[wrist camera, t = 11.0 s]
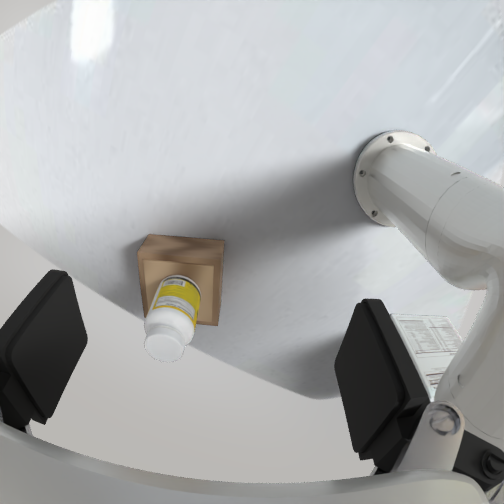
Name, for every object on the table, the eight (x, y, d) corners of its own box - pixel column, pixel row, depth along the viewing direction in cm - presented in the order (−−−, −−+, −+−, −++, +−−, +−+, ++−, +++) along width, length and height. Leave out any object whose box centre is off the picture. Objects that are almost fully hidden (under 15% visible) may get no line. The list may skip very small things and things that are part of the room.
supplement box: (390, 312, 46) (431, 397, 30) (447, 315, 46) (493, 385, 31) (361, 367, 52) (386, 447, 36) (417, 365, 53) (447, 435, 37)
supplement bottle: (182, 316, 39) (167, 373, 30) (150, 290, 37) (126, 345, 28) (211, 294, 37) (201, 352, 28) (177, 265, 35) (157, 319, 26)
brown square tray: (224, 240, 40) (220, 260, 35) (220, 303, 44) (217, 327, 40) (149, 234, 39) (136, 253, 34) (153, 296, 44) (144, 318, 39)
